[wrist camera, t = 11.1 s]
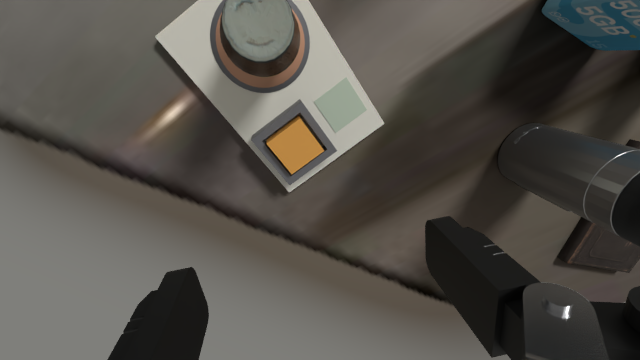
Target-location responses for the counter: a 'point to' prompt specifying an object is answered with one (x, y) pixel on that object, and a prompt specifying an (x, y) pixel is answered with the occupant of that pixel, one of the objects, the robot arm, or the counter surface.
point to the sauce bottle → (260, 35)
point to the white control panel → (276, 87)
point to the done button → (294, 145)
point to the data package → (599, 21)
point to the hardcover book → (600, 245)
